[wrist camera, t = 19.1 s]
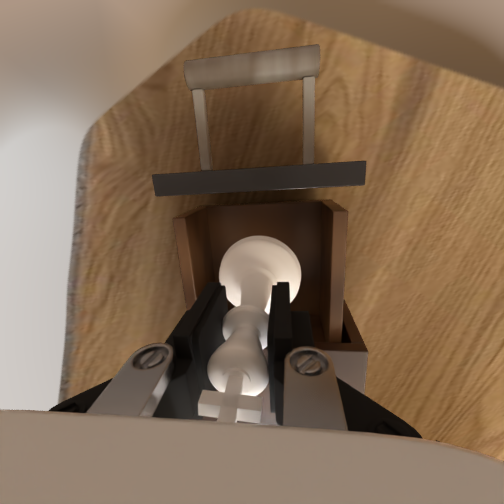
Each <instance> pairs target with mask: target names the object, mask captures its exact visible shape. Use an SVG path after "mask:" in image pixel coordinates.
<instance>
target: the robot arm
mask: <svg viewBox="0 0 504 504" xmlns="http://www.w3.org/2000/svg"><path fill="white" fill-rule="evenodd" d="M227 312H228V306H227V296H226V287H225V285H221V283H220V282H208V283H207V284H206V286H205V287H204V289H203V290H202V292H201V293H200V295H199V297H198V298H197V300H196V301H195V303H194V304H193V306H192V307H191V309H190V310H187V311H186V312H185V314H184V315H183V317H182V318H181V320H180V321H179V323H178V324H177V326H176V327H175V329H174V330H173V332H172V333H171V334H170V336H169V337H168V339H167V340H166V342H165V343H153V344H149V345H146V346H144V347H142V348H140V349H138V350H137V351H135V352H134V353H133V354H132V355H131V356H130V358H129V359H128V360H127V361H126V363H125V364H124V365H123V366H122V368H121V369H120V370H119V372H118V373H117V374H116V375H115V377H114V378H112V379H110V380H108V381H106V382H104V383H102V384H99V385H97V386H95V387H93V388H91V389H89V390H87V391H85V392H82V393H80V394H78V395H76V396H74V397H72V398H70V399H68V400H65V401H63V402H61V403H60V404H58V405H56V406H55V407H53V408H51V409H50V410H49V411H35V410H0V504H504V461H502V460H499V459H496V458H494V457H491V456H488V455H486V454H483V453H480V452H477V451H473V450H470V449H466V448H462V447H459V446H455V445H451V444H448V443H442V442H439V441H437V440H436V441H432V440H427V439H423V438H422V437H421V435H420V434H419V433H418V432H417V431H416V430H415V429H414V428H413V427H411V426H410V425H409V424H408V423H406V422H405V421H403V420H402V419H400V418H399V417H397V416H396V415H394V414H393V413H391V412H390V411H388V410H387V409H385V408H384V407H382V406H381V405H379V404H378V403H376V402H374V401H373V400H371V399H370V398H368V397H367V396H365V395H364V394H362V393H361V392H359V391H358V390H356V389H355V388H353V387H352V386H350V385H349V384H347V383H346V382H344V381H343V380H341V379H340V378H338V377H336V374H335V369H334V365H333V362H332V359H331V357H330V356H329V355H328V354H327V353H326V352H324V351H322V350H321V349H318V348H315V345H314V339H313V333H312V327H311V321H310V315H309V311H291V308H290V285H289V282H277V285H272V292H271V302H270V312H269V322H268V331H267V353H268V372H269V391H270V410H271V413H275V415H276V422H277V424H279V425H280V426H274V425H260V424H246V423H232V422H217V421H202V419H203V416H200V415H198V401H199V399H200V396H201V393H202V390H209V391H216V388H215V387H214V386H213V385H212V383H211V382H210V380H209V377H208V373H207V366H208V362H209V359H210V357H211V356H212V354H213V353H214V352H215V351H216V350H217V349H218V347H219V346H221V345H222V344H223V343H224V342H226V340H225V338H224V336H223V332H222V327H223V325H222V322H223V319H224V317H225V315H226V314H227ZM189 419H201V420H189Z"/></svg>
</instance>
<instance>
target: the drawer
mask: <svg viewBox="0 0 504 504" xmlns="http://www.w3.org/2000/svg"><path fill="white" fill-rule="evenodd" d="M319 69H320V46H319V44H316V45H308V46H300V47H292V48H284V49H276V50H268V51H260V52H252V53H244V54H236V55H228V56H220V57H212V58H204V59H196V60H188V61H185V62H184V76H185V80H186V84H187V86H188V88H189V90H190V91H192V94H193V103H194V111H195V120H196V129H197V137H198V146H199V155H200V163H201V171H200V172H185V173H170V174H154V175H152V179H153V185H154V190H155V196H175V195H194V194H212V193H231V192H249V191H268V190H286V189H305V188H324V187H342V186H361V185H365V174H366V161H352V162H337V163H322V164H314V125H315V78H317V77H318V75H319ZM302 79H303V165H291V166H276V167H261V168H246V169H230V170H215V171H213V165H212V155H211V145H210V135H209V126H208V116H207V106H206V96H205V91H204V90H210V89H219V88H229V87H238V86H247V85H256V84H265V83H275V82H284V81H293V80H302ZM173 224H174V230H175V237H176V243H177V249H178V256H179V262H180V269H181V275H182V281H183V288H184V294H185V300H186V307H187V310H190V309H191V307H192V306H193V304H194V303H195V301H196V300H197V298H198V297H199V295H200V293H201V292H202V290H203V289H204V287H205V286H206V284H207V283H208V282H220V281H219V270H220V266H221V262H222V259H223V257H224V255H225V253H226V252H227V250H228V249H229V248H230V247H231V246H232V245H233V244H235V243H236V242H238V241H239V240H241V239H244V238H246V237H250V236H268V237H272V238H275V239H277V240H279V241H281V242H283V243H284V244H285V245H287V246H288V247H289V248H290V249H291V250H292V251H293V252H294V254H295V255H296V257H297V259H298V261H299V264H300V268H301V282H300V286H299V290H298V292H297V295H296V296H295V298H294V299H293V301H292V302H291V303H290V308H291V311H309V315H310V321H311V327H312V333H313V339H314V342H328V343H341V341H342V321H343V302H344V283H345V263H346V244H347V225H348V211H347V210H346V209H344V208H343V207H341V206H340V205H338V204H337V203H335V202H334V201H333V200H331V199H329V200H308V201H287V202H266V203H245V204H224V205H203V206H198V207H197V208H194V209H192V210H190V211H188V212H186V213H183V214H181V215H179V216H177V217H175V218H173ZM227 306H228V311H230V310H231V309H233V308H234V307H236V306H234V305H233V304H232V303H231V302H230V301H229V300H228V299H227ZM268 315H269V314H268Z"/></svg>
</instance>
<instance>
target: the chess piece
mask: <svg viewBox="0 0 504 504" xmlns="http://www.w3.org/2000/svg"><path fill="white" fill-rule="evenodd" d="M219 281H220V283H221V285H225V287H226V296H227V299H228V300H229V301H230V302H231V303H232V304H233V305H234V306H236V307H234V308H233V309H231V310H230V311H228V312H227V314H226V315H225V317H224V319H223V322H222V325H223V327H222V332H223V336H224V338H225V340H226V342H224V343H223V344H222V345H221V346H219V347H218V349H217V350H216V351H215V352H214V353H213V354H212V356H211V357H210V359H209V362H208V366H207V373H208V377H209V380H210V382H211V383H212V385H213V386H214V387H215V388H216V389H217V390H218V391H219V392H217V391H209V390H202V393H201V396H200V399H199V401H198V415H200V416H207V417H215V418H218V419H217V422H232V423H237V421H244V422H251V423H259V424H260V422H261V411H262V397H257V396H256V395H258V394H260V393H261V392H262V391H263V390H264V389H265V388H266V386H267V384H268V382H269V372H268V362H267V359H266V356H265V354H264V353H263V349H264V348H266V347H267V331H268V322H269V315H268V314H269V312H270V302H271V292H272V285H277V282H289V285H290V303H291V302H292V301H293V299H294V298H295V296H296V295H297V292H298V290H299V286H300V282H301V268H300V264H299V261H298V259H297V257H296V255H295V254H294V252H293V251H292V250H291V249H290V248H289V247H288V246H287V245H285V244H284V243H283V242H281V241H279V240H277V239H275V238H272V237H268V236H250V237H246V238H244V239H241V240H239V241H238V242H236V243H235V244H233V245H232V246H231V247H230V248H229V249H228V250H227V252H226V253H225V255H224V257H223V259H222V262H221V266H220V270H219Z"/></svg>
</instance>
